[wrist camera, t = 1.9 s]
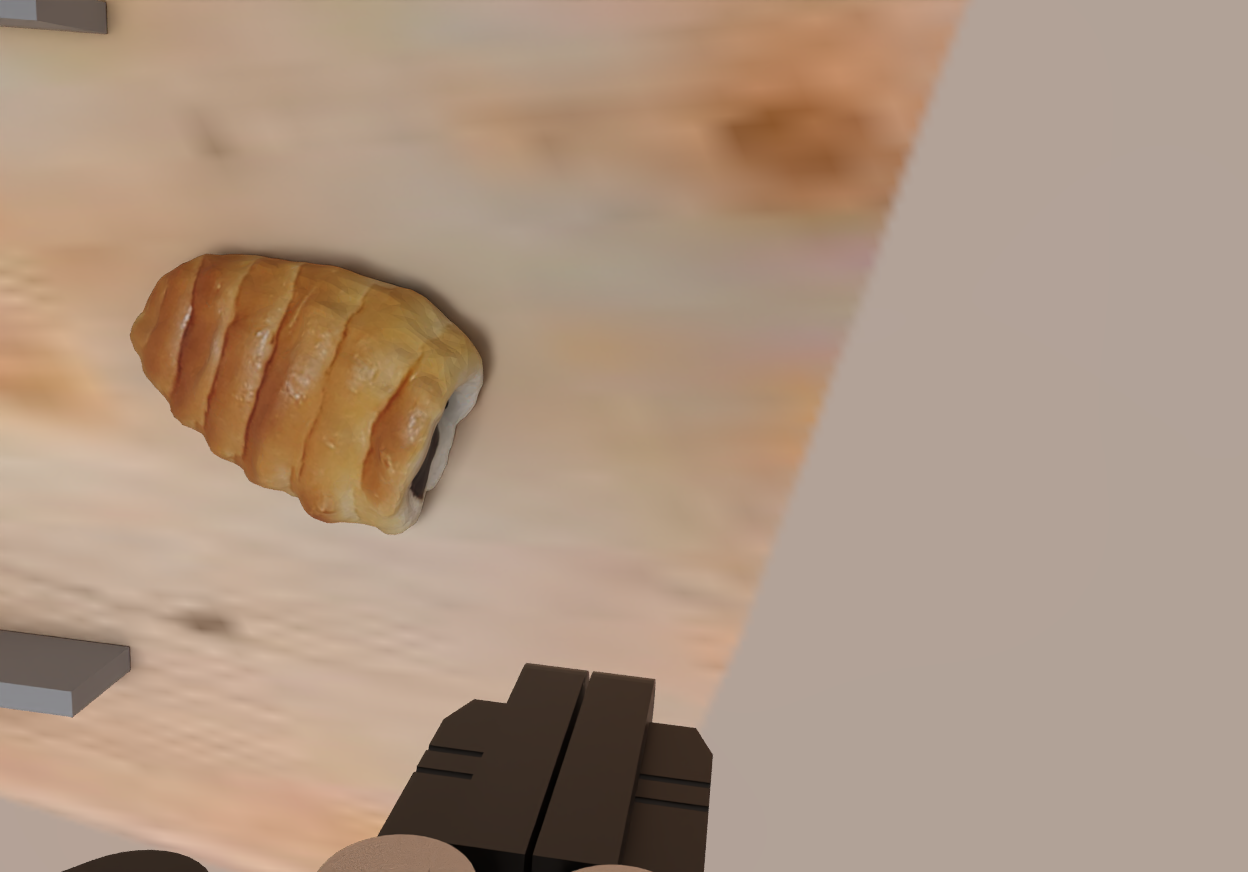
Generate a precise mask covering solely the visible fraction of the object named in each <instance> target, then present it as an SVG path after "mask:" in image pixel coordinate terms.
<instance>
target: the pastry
mask: <svg viewBox="0 0 1248 872" xmlns="http://www.w3.org/2000/svg"><path fill="white" fill-rule="evenodd" d="M130 338H131V341H132V344H133V347H134V350H135V351H136V352H137V353H138V355H139V356H140V359H141V362H142V367H143V371H144V373H145V375H146V377H147V378H148V379H149V380H150V381H151V382H152V383H153V385H154V386H155V387H156V388H157V389H158V390H159V391H160V392H161V393H162V395H163V396H164V397H165V398H166V400H167V401H168V402H169V404H170V408H171V412H172V413H173V415H174V417H175V418H176V419H178V420H179V421H180V422H181V423H182V425H185V426H187V427H190V428H192V429H194V430H196V431H198V432H200V433H202V434H203V436H204V437H205V439H206V441H207V443H208V445H209V447H210V449H211V451H212V452H213V453H214V454H215V455H217V456H219V457H220V458H222V459H225V460H228V461H230V462H233V463H235V464H237V465H238V466H240V467H241V468H242V469H243V470H244V472H245V475H246V476H247V478H248V479H249V481H251V482H253V483H254V484H257V485H259V486H262V487H264V488H268V489H273V490H280V491H284V492H286V493H288V494H290V495H291V496H294V497H298V498H299V500H300V502H301V504H302V506H303V508H304V510H305V511H306V512H307V513H308V514H309V515H310V516H312V517H313V518H315V519H318V520H320V521H323V522H326V523H337V522H347V523H361V524H366V525H370V526H374V527H377V528H378V529H379V530H381V531H382V532H384V533H385V534H391V535H396V534H400V533H403V532H404V531H405V530H407V529H408V528H409V527H411V526H412V525H414V524H415V523H416V521H417V519H418V517H419V515H420V512H421V510H422V506H423V501H424V498H425V494H426V491H429V490H431V489H433V488H434V487H435V486H436V484H437V483H438V481H439V479H440V478H441V476H442V473H443V471H444V469H445V467H446V465H447V461H448V455H449V451H450V448H451V446H452V443H453V439H454V434H455V427H456V424H457V423H458V422H459V421H460V420H462V419H463V418H464V417H466V416H467V415H468V413H469V412H470V411H471V410H472V408H473V407H474V405H475V404H476V400H477V396H478V393H479V391H480V388H481V387H482V385H483V366H482V359H481V356H480V355H479V353H478V351H477V349H476V348H475V346H474V345H473V344H472V342H471V341H470V339H469V338H468V337H467V336H466V335H465V334H464V333H463V332H462V331H461V330H460V329H459V328H458V327H457V326H456V325H455V324H453V323H452V322H451V321H450V320H449V319H448V318H447V317H446V316H445V315H444V314H443V313H442V312H441V311H440V310H438V309H437V308H436V307H435V306H434V305H433V304H432V303H431V302H430V301H429V300H428V299H427V298H425V297H424V296H422V295H420V294H418V293H417V292H415V291H413V290H411V289H406V288H402V287H398V286H395V285H393V284H389V283H385V282H381V281H378V280H375V279H372V278H369V277H365V276H362V275H360V274H357V273H354V272H352V271H349V270H346V269H343V268H340V267H337V266H332V265H319V264H313V263H307V262H292V261H288V260H283V259H278V258H268V257H263V256H258V255H242V254H228V255H213V254H205V255H202V256H199V257H197V258H195V259H193V260H191V261H189V262H186V263H183V264H181V265H180V266H178V267H177V268H175V269H174V270H172V271H170V272H169V273H167V274H165V275H164V276H163V277H162V278H161V279H160V280H159V281H158V282H157V284H156V286H155V288H154V289H153V291H152V293H151V295H150V297H149V299H148V301H147V303H146V306H145V308H144V310H143V312H142V313H141V314H140V315H139V316H138V317H137V319H136V321H135V322H134V324H133V326H132V330H131V333H130Z"/></svg>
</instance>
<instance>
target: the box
mask: <svg viewBox="0 0 1248 872" xmlns="http://www.w3.org/2000/svg"><path fill="white" fill-rule="evenodd" d="M0 26H6V27H19V28H32V29H46V30H59V31H72V32H86V33H99V34H107V23H106V2H102V1H97V0H0ZM129 671H130V652H129V647H126V646H118V645H111V644H103V643H95V642H88V641H80V640H72V639H64V638H57V637H49V636H41V635H34V634H26V633H18V632H11V631H3V630H0V707H2V708H10V709H17V710H24V711H31V712H39V713H46V714H53V715H61V716H68V717H73V716H75V715H76V714H77V713H78V712H80V711H81V710H82V709H83V708H85V707H86V706H87V705H88V704H89V703H91V702H92V701H93V700H94V699H96V698H97V697H98V696H99V695H101V694H102V693H103V692H104V691H105V690H107V689H108V688H109V687H110V686H112V685H113V684H114V683H115V682H117V681H118V680H119V679H120V678H121V677H123V676H124V675H125V674H126V673H128V672H129Z"/></svg>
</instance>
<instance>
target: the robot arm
mask: <svg viewBox="0 0 1248 872" xmlns="http://www.w3.org/2000/svg"><path fill="white" fill-rule="evenodd" d="M654 697H655V679H650V678H642V677H634V676H626V675H618V674H611V673H603V672H595V671H593V673H592V675H591V678H590V681H589V672H588V671H586V670H578V669H570V668H562V667H554V666H546V665H539V664H531V663H526V664H525V665H524V667H523V669H522V671H521V674H520V676H519V678H518V680H517V682H516V684H515V686H514V689H513V691H512V693H511V695H510V697H509V699H508V701H507V704H506V703H499V702H491V701H483V700H476V699H474V700H472V701H471V702H469V703H468V704H466V705H465V706H463V707H462V708H460V709H459V710H457V711H456V712H454V713H452V714H451V715H449V716H448V717H446V718H445V719H444V720H443V721H442V723H441V725H440V727H439V728H438V730H437V732H436V734H435V736H434V737H433V739H432V741H431V743H430V744H429V749H428V750H426V751H425V753H424V755H423V757H422V758H421V760H420V762H419V764H418V766H417V770H416V772H414V773H413V774H412V776H411V778H410V780H409V781H408V783H407V785H406V787H405V788H404V790H403V792H402V794H401V796H400V797H399V799H398V801H397V803H396V804H395V806H394V808H393V810H392V811H391V813H390V815H389V817H388V819H387V820H386V822H385V824H384V826H383V827H382V829H381V831H380V833H379V834H378V836H377V837H373V838H369V839H366V840H362V841H359V842H357V843H354V844H352V845H350V846H347V847H345V848H344V849H342V850H340V851H339V852H337V853H335V854H334V855H333V856H332V857H330V858H329V859H328V860H327V861H326V862H325V863H324V864H323V865H322V866H321V867H320V869H319V870H318V871H317V872H704V863H705V850H706V835H707V824H708V809H709V797H710V784H711V772H712V759H713V755H712V753H711V751H710V750H709V748H708V747H707V745H706V743H705V742H704V740H703V739H702V737H701V735H700V734H699V732H698V731H697V729H696V728H690V727H683V726H675V725H667V724H660V723H652V718H653V708H654ZM63 872H208V871H207V869H206V868H205V867H203V866H202V865H201V864H200V863H199V862H197V861H195V860H193V859H192V858H190V857H187V856H184V855H181V854H178V853H173V852H168V851H159V850H137V851H129V852H121V853H117V854H112V855H108V856H105V857H101V858H98V859H95V860H92V861H89V862H86V863H84V864H81V865H79V866H76V867H73V868H71V869H68V870H65V871H63Z"/></svg>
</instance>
